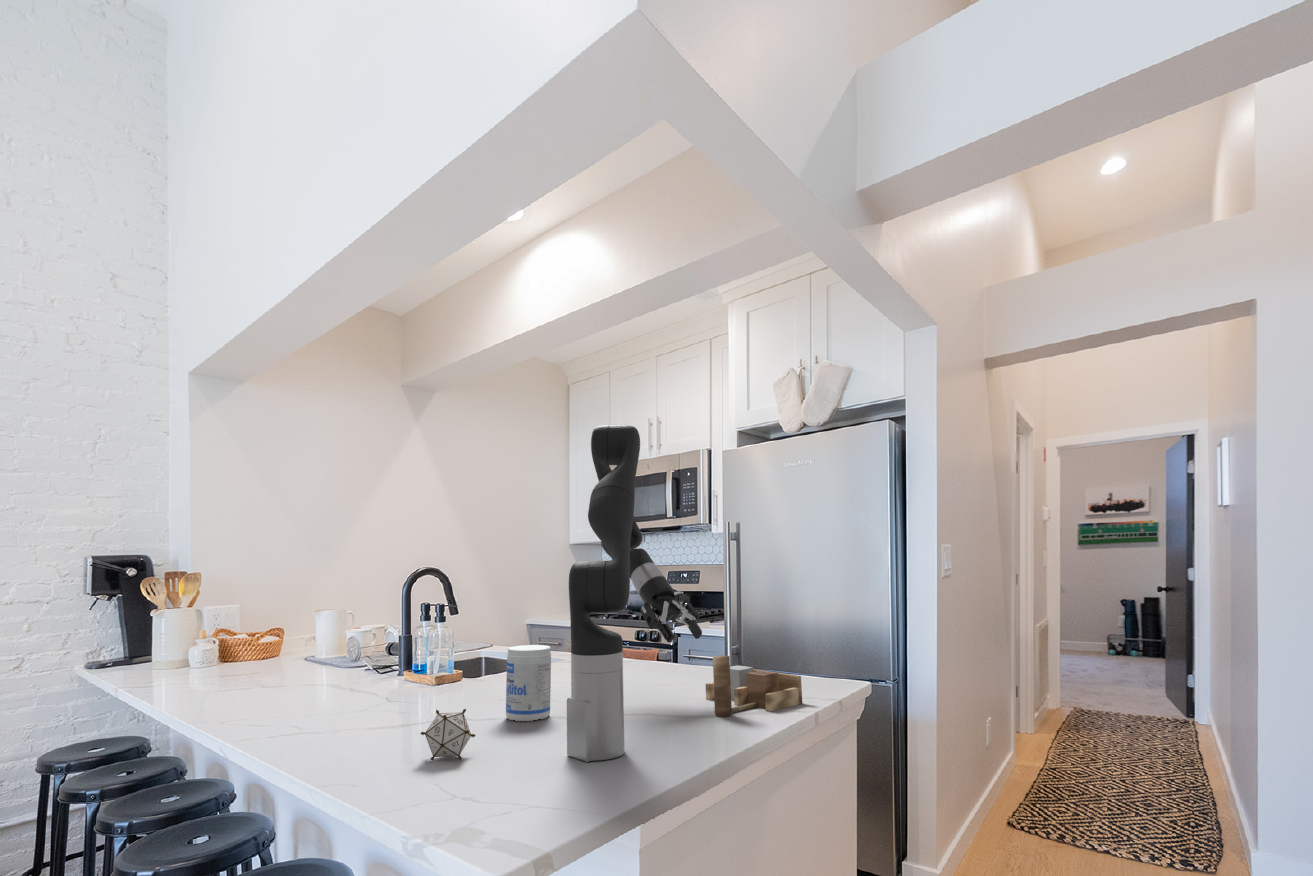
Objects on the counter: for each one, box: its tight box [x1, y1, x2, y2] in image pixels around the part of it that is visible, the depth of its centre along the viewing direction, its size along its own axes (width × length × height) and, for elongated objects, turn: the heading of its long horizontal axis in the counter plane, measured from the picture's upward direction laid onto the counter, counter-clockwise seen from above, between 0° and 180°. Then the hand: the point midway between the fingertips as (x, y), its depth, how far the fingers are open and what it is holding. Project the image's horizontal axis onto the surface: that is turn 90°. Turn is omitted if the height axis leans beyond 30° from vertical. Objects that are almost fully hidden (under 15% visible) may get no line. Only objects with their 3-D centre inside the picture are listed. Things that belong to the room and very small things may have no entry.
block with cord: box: [712, 654, 779, 718], centre depth 155 cm, size 17×5×12 cm, turn 130°
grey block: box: [730, 664, 754, 701], centre depth 167 cm, size 5×5×7 cm
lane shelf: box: [705, 668, 803, 712], centre depth 163 cm, size 11×20×6 cm, turn 40°
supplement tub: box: [505, 644, 552, 722], centre depth 154 cm, size 10×10×15 cm
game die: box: [419, 708, 477, 761], centre depth 124 cm, size 9×8×10 cm
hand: (685, 638), depth 160 cm, fingers open, 8 cm apart
